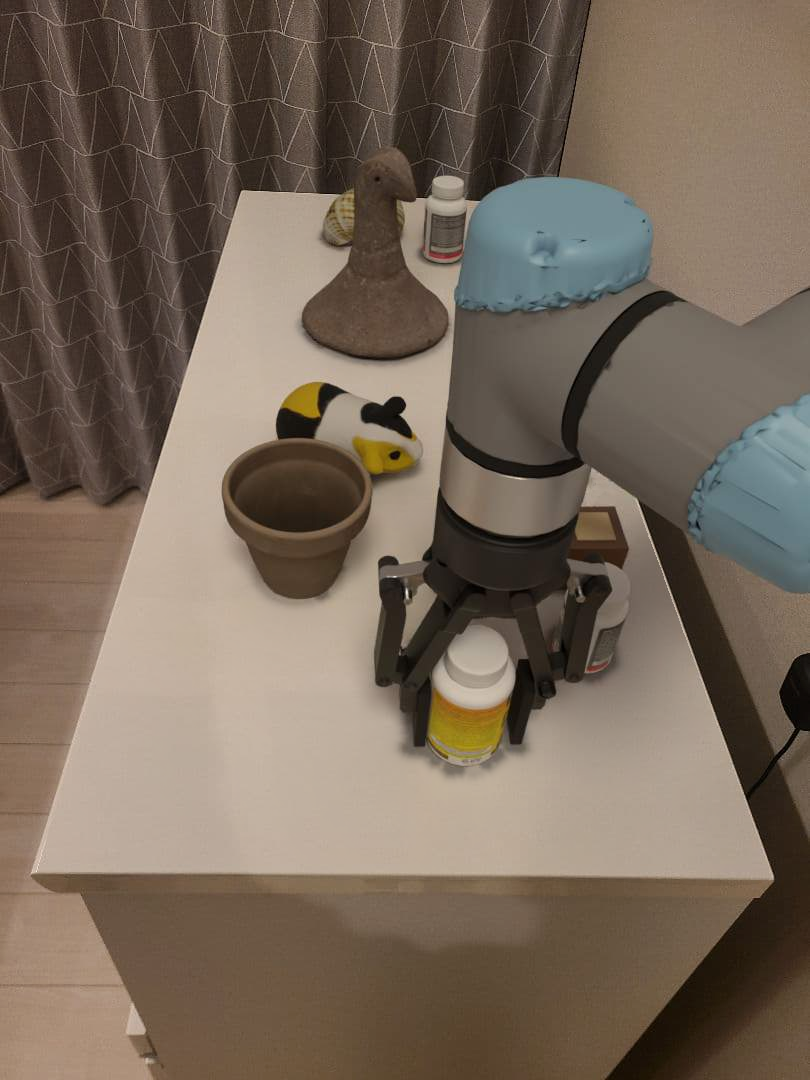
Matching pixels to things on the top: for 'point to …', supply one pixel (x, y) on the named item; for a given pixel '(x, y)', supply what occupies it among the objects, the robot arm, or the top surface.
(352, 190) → the seashell
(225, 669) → the top surface
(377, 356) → the sculpture
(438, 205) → the pill bottle
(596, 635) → the pill bottle
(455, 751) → the supplement bottle
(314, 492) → the flower pot
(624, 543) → the block near
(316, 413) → the figurine
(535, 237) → the robot arm
